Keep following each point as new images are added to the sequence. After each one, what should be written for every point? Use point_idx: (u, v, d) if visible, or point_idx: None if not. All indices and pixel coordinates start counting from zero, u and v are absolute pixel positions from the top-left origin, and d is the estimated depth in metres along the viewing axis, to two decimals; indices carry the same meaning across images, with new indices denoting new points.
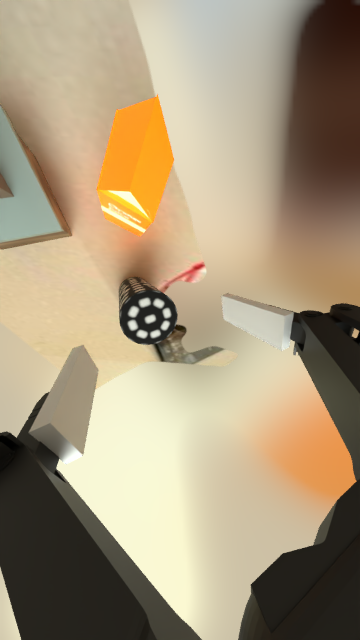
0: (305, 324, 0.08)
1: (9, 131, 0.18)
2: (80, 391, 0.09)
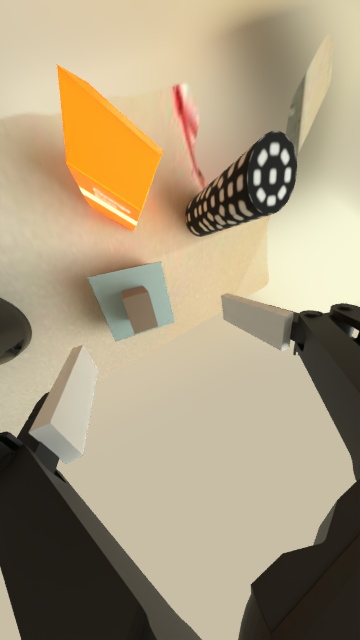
0: (305, 324, 0.08)
1: (103, 276, 0.26)
2: (80, 391, 0.09)
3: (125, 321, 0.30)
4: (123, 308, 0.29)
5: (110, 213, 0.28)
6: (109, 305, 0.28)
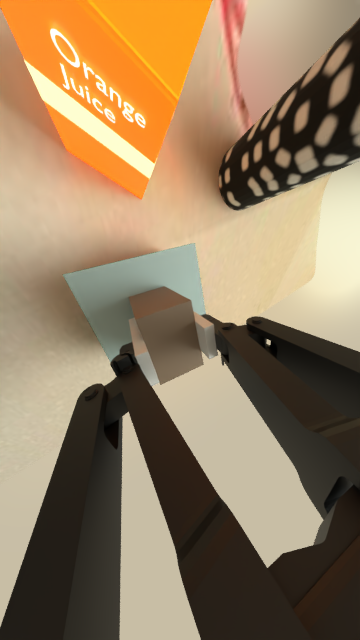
0: (225, 338, 0.09)
1: (93, 271, 0.14)
2: None
3: None
4: None
5: (102, 157, 0.15)
6: (108, 324, 0.16)
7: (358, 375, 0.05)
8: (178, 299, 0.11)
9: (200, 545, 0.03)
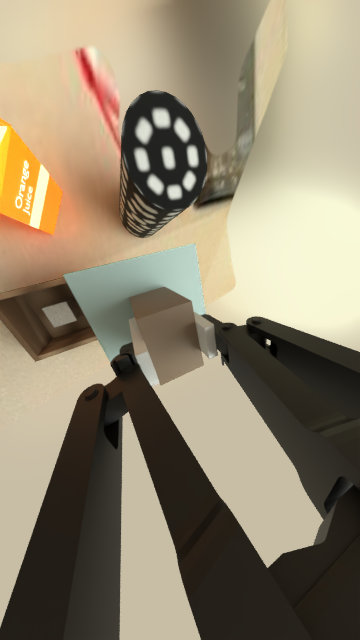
0: (225, 338, 0.09)
1: (93, 272, 0.14)
2: None
3: None
4: None
5: None
6: (108, 324, 0.16)
7: (358, 375, 0.05)
8: (178, 299, 0.11)
9: (200, 545, 0.03)
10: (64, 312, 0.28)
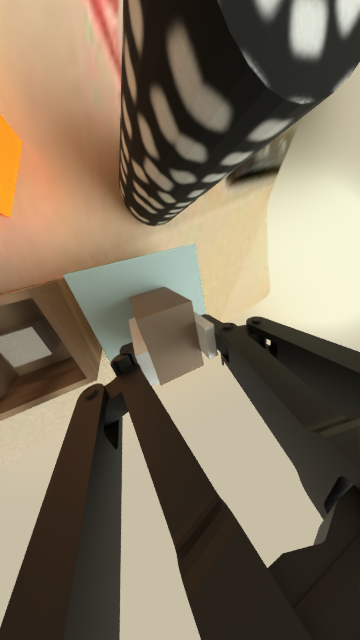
0: (225, 338, 0.09)
1: (94, 271, 0.14)
2: None
3: None
4: None
5: None
6: (108, 324, 0.16)
7: (359, 375, 0.05)
8: (178, 300, 0.11)
9: (200, 545, 0.03)
10: (30, 343, 0.17)
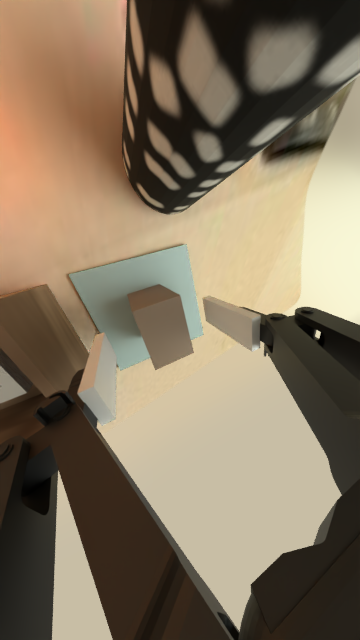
0: (272, 327, 0.09)
1: (95, 271, 0.15)
2: (107, 369, 0.10)
3: (134, 340, 0.20)
4: (130, 321, 0.18)
5: None
6: (109, 319, 0.17)
7: None
8: (169, 294, 0.13)
9: None
10: None
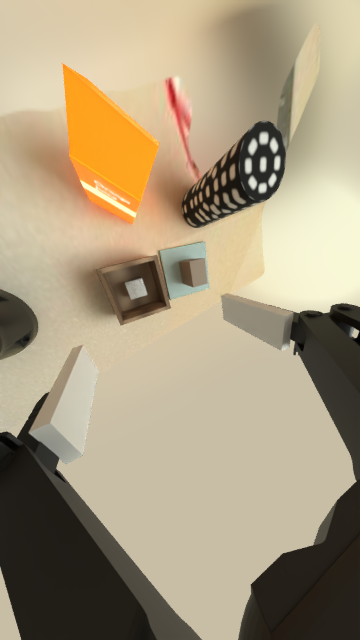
0: (305, 324, 0.08)
1: (169, 250, 0.38)
2: (80, 391, 0.09)
3: (178, 284, 0.42)
4: (178, 274, 0.41)
5: (109, 206, 0.29)
6: (170, 272, 0.40)
7: None
8: (200, 258, 0.36)
9: None
10: (139, 287, 0.35)
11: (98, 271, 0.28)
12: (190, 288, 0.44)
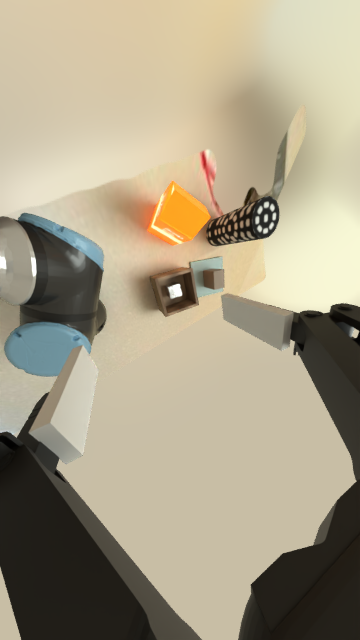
0: (305, 324, 0.08)
1: (197, 262, 0.52)
2: (80, 391, 0.09)
3: (201, 287, 0.56)
4: (201, 280, 0.55)
5: (162, 236, 0.43)
6: (196, 278, 0.54)
7: None
8: (220, 269, 0.50)
9: None
10: (177, 290, 0.49)
11: (156, 280, 0.42)
12: (209, 290, 0.58)
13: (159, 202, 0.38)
